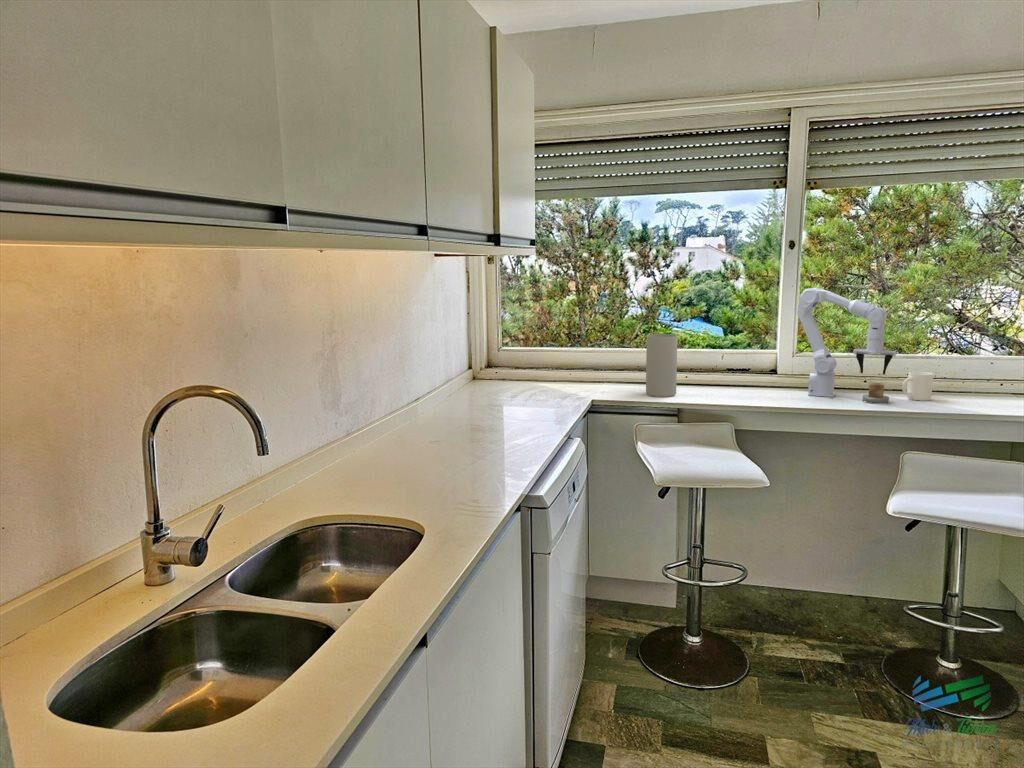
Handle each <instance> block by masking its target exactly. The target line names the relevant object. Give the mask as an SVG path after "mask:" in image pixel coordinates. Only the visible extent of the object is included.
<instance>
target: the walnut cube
mask: <svg viewBox="0 0 1024 768" xmlns="http://www.w3.org/2000/svg"><path fill="white" fill-rule="evenodd" d="M884 390H885V383H884V382H869V385H868V394H869V395H868V397H872V398H883V395H884V393H885V391H884Z"/></svg>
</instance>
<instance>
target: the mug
mask: <svg viewBox="0 0 1024 768" xmlns="http://www.w3.org/2000/svg"><path fill="white" fill-rule="evenodd" d="M933 382H934V373H932V372H928V371H909V372H908V375H907V378H905V379H904V380H903V382H902V386H901V390H902V393H903V394H904V395H905V396H906V398H907V399H908V398H909V399H908V400H910V399H913V400H912V401H916V400H928V401H930V400H932V391H933V384H934V383H933Z"/></svg>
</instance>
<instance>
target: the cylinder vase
mask: <svg viewBox="0 0 1024 768" xmlns="http://www.w3.org/2000/svg"><path fill="white" fill-rule="evenodd" d="M645 347H646V352H645V353H646V355H645V356H646V357H645V358H646V360H645V362H646V363H645V376H646V377H645V393H646V395H647V396H649V397H656V398H670V397H675V395H677V378H678V377H677V376H678V375H677V374H678V373H677V372H678V371H677V370H678V334H670V333H653V334H647V335H646V346H645Z"/></svg>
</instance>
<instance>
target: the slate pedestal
mask: <svg viewBox="0 0 1024 768" xmlns="http://www.w3.org/2000/svg"><path fill="white" fill-rule="evenodd" d="M868 395H869V393H868V394H863V395H862V402H863V401H866V402H872V403H871V404H873V403H887V404H889V403H890V397H889V396H888V395H884V394H883V398H872V397H868ZM866 402H865V403H866ZM888 402H889V403H888Z"/></svg>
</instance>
